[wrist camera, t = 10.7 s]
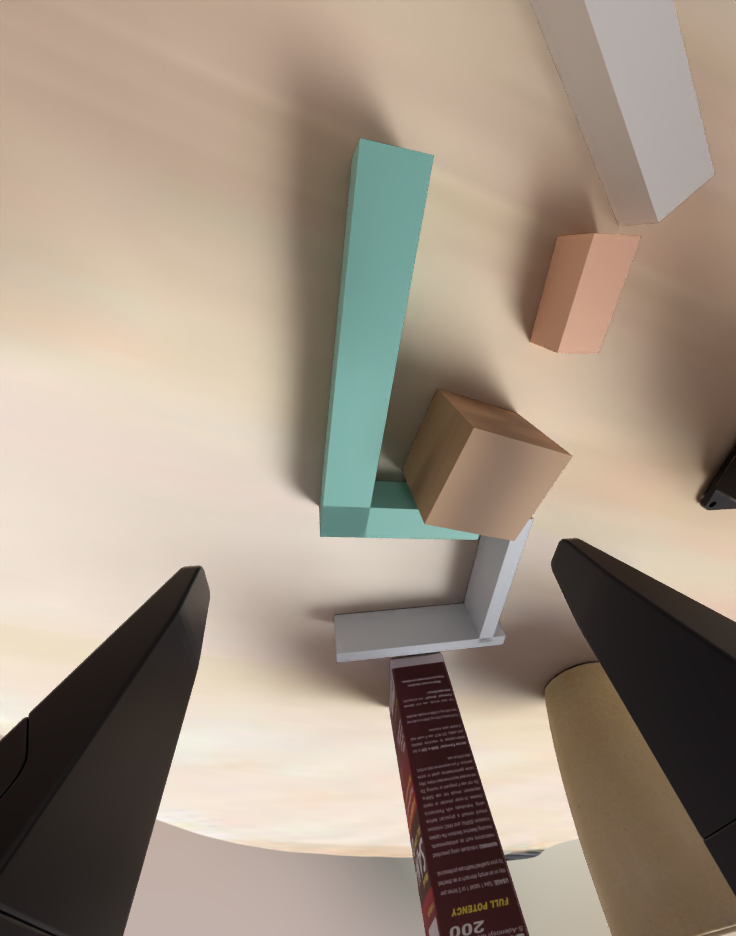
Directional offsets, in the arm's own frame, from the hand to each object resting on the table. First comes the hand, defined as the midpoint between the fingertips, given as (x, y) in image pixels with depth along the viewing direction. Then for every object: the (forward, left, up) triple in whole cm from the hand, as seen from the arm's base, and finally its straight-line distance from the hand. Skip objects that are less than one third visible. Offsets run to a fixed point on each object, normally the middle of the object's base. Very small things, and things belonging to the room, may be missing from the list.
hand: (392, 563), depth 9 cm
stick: (-9, -12, -11) cm, 19 cm away
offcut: (-10, -5, -11) cm, 16 cm away
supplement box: (-6, +27, -11) cm, 29 cm away
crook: (-3, -1, -11) cm, 12 cm away
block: (-6, +2, -11) cm, 13 cm away
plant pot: (-24, +31, -11) cm, 40 cm away
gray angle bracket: (-5, +12, -11) cm, 17 cm away
